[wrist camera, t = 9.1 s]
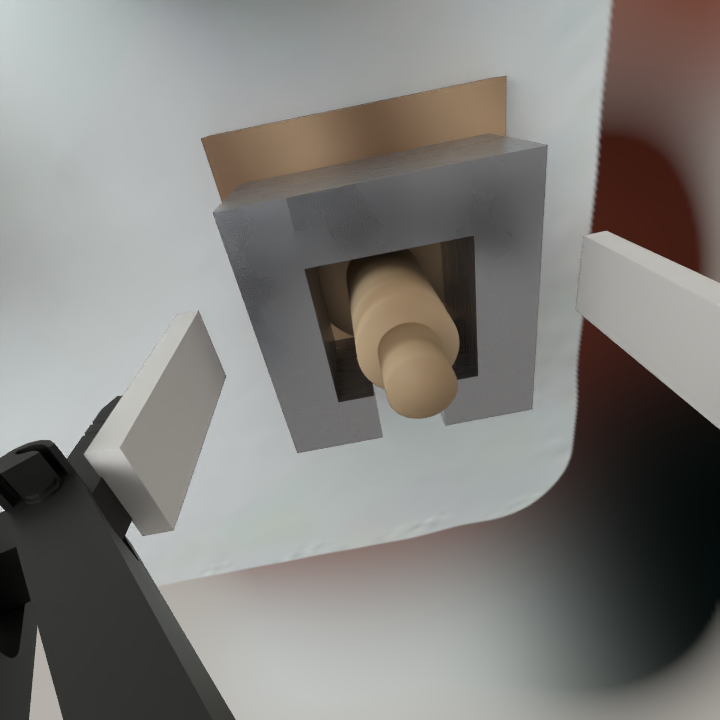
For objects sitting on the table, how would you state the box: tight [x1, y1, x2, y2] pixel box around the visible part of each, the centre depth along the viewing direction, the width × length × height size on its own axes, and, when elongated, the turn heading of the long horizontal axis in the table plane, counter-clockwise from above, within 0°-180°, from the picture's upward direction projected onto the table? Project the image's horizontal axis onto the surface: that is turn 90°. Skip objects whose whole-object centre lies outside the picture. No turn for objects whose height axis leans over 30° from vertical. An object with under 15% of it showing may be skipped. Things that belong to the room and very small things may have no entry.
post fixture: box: [201, 76, 506, 419], centre depth 16 cm, size 12×12×12 cm
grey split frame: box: [213, 133, 548, 453], centre depth 15 cm, size 9×9×4 cm
